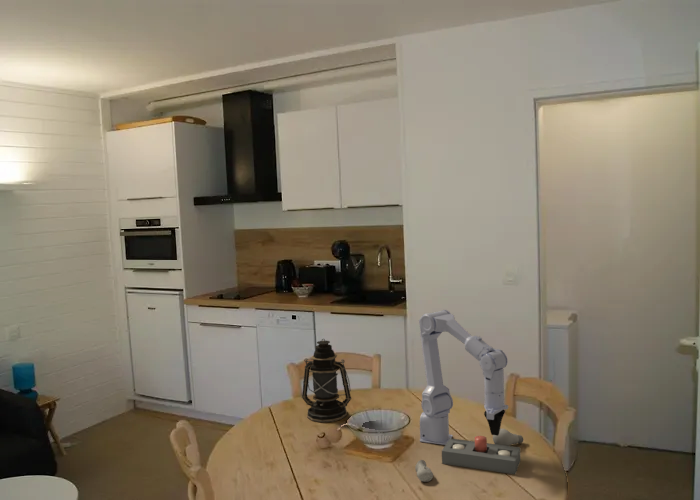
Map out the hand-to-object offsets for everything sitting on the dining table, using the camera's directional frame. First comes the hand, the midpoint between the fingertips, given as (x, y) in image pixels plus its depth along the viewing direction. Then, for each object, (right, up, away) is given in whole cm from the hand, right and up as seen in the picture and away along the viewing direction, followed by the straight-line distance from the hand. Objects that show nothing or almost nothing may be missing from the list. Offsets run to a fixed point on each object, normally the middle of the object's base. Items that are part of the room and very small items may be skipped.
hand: (495, 434), depth 175 cm
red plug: (-4, -6, +2) cm, 7 cm away
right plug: (+3, -9, 0) cm, 9 cm away
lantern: (-53, -8, +48) cm, 72 cm away
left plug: (-10, -9, +5) cm, 15 cm away
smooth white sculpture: (-22, -11, -6) cm, 25 cm away
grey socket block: (-4, -9, +3) cm, 10 cm away
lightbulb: (+13, -6, +15) cm, 21 cm away
